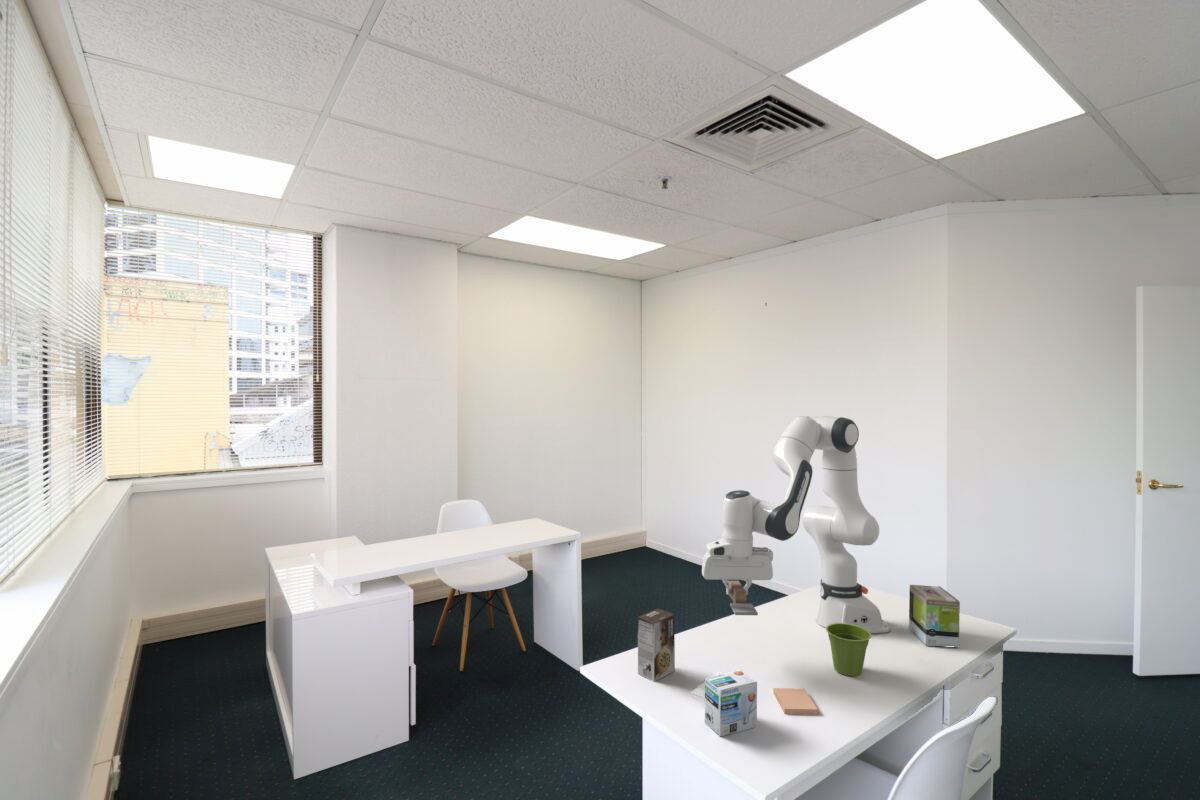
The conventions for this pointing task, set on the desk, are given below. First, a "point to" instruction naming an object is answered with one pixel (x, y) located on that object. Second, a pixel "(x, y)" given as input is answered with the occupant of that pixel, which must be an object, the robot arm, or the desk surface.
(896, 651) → the desk surface
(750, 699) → the light bulb box
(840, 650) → the plant pot
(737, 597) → the wooden handled scraper
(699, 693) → the butcher knife
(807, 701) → the tile
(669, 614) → the coffee box
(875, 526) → the robot arm
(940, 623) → the tea box
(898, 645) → the desk surface
